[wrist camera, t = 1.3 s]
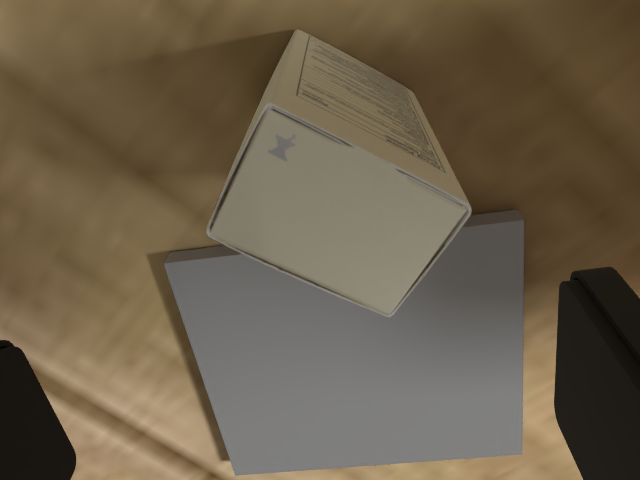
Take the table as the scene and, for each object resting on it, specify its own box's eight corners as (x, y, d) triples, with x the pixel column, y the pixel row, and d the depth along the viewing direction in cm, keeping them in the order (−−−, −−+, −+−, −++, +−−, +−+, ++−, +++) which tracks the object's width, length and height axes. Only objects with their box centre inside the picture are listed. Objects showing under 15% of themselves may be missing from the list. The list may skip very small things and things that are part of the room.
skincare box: (254, 111, 26) (188, 234, 15) (296, 24, 24) (254, 92, 13) (374, 174, 27) (391, 328, 16) (423, 95, 25) (478, 210, 14)
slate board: (517, 209, 28) (524, 220, 27) (517, 438, 35) (522, 454, 34) (169, 252, 30) (163, 263, 29) (238, 460, 37) (235, 475, 36)
